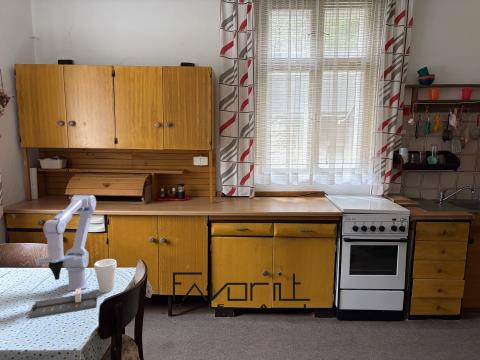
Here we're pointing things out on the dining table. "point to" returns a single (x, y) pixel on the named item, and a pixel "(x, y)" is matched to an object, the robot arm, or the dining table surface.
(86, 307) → the console
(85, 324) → the dining table surface
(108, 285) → the foam cup
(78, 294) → the block
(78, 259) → the robot arm
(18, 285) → the dining table surface
